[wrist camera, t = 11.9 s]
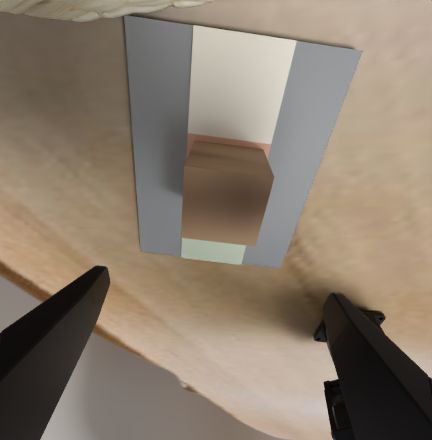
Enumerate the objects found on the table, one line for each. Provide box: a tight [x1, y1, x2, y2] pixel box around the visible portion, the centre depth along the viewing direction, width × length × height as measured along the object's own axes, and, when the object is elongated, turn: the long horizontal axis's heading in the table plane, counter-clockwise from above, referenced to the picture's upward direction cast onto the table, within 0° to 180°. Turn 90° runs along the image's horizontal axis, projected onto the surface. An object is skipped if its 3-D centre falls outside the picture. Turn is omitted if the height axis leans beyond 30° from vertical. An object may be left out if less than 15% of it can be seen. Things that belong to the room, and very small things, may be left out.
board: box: [124, 15, 362, 268], centre depth 19 cm, size 18×14×1 cm
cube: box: [181, 140, 275, 247], centre depth 17 cm, size 5×5×5 cm
